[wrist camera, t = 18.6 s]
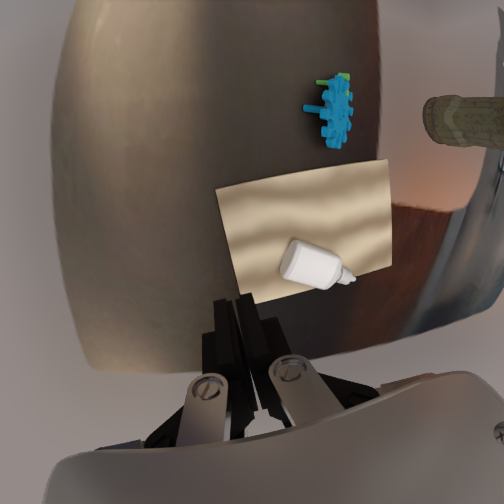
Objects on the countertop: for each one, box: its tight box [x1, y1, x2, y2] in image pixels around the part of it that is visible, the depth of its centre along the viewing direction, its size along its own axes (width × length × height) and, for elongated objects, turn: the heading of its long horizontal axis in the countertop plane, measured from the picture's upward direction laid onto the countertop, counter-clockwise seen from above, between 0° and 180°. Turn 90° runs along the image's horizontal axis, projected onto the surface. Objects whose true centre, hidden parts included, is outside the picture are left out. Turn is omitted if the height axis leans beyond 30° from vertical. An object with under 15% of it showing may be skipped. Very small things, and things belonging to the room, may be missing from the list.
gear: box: [303, 73, 353, 149], centre depth 32 cm, size 11×6×10 cm
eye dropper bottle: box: [280, 240, 356, 290], centre depth 40 cm, size 4×6×12 cm
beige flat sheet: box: [215, 159, 392, 304], centre depth 40 cm, size 18×26×1 cm
